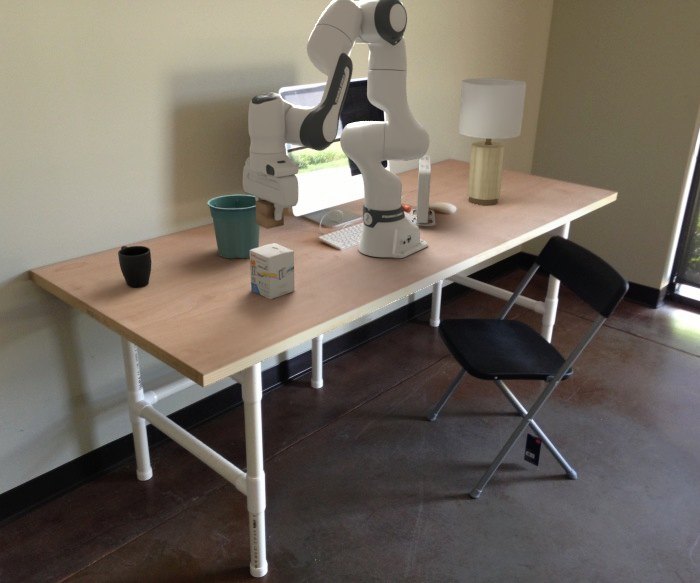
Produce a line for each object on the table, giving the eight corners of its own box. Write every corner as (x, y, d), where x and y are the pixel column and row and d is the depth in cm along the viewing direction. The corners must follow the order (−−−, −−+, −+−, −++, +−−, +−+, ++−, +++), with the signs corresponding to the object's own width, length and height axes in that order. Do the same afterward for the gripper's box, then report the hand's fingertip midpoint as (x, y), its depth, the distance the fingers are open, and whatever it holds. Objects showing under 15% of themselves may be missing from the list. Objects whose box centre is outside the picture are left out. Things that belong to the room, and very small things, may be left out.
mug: (142, 272, 191) (138, 240, 188) (158, 285, 182) (155, 252, 179) (113, 278, 187) (108, 245, 183) (128, 292, 178) (124, 258, 174)
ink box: (250, 290, 180) (248, 248, 176) (275, 282, 186) (273, 241, 181) (270, 300, 175) (268, 257, 170) (295, 291, 180) (294, 249, 175)
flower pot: (207, 246, 212) (204, 196, 205) (260, 241, 216) (257, 192, 210) (214, 264, 197) (210, 211, 191) (270, 259, 202) (268, 206, 195)
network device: (410, 207, 253) (413, 154, 246) (434, 208, 253) (437, 154, 245) (409, 228, 230) (412, 170, 222) (435, 229, 229) (439, 171, 221)
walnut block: (272, 220, 176) (272, 198, 174) (283, 225, 172) (283, 202, 170) (256, 224, 173) (255, 201, 171) (267, 228, 170) (266, 205, 167)
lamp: (458, 191, 275) (467, 77, 258) (515, 196, 269) (528, 80, 251) (448, 206, 255) (457, 83, 238) (509, 212, 249) (523, 86, 231)
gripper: (235, 156, 172) (238, 209, 177) (280, 171, 158) (282, 228, 163) (256, 153, 176) (258, 205, 181) (302, 168, 161) (303, 223, 167)
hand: (270, 216), depth 172 cm, fingers closed on walnut block, 5 cm apart
